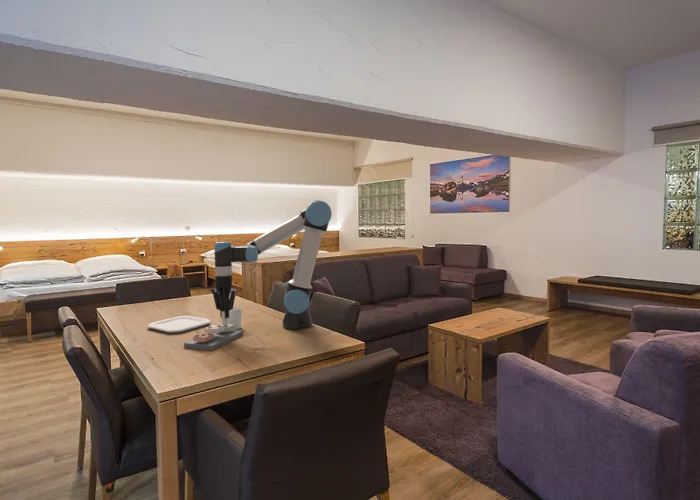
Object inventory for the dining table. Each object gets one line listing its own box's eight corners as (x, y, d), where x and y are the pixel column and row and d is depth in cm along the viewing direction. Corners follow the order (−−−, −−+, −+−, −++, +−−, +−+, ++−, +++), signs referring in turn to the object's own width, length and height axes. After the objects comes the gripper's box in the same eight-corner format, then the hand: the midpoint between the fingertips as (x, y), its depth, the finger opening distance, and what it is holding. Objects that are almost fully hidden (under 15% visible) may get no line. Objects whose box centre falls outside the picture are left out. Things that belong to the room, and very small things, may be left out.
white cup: (237, 330, 203) (237, 310, 203) (222, 329, 205) (222, 310, 204) (244, 326, 211) (244, 307, 210) (230, 325, 213) (230, 306, 212)
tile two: (224, 330, 188) (224, 325, 188) (216, 333, 183) (216, 328, 183) (213, 329, 190) (213, 324, 190) (204, 332, 185) (204, 327, 184)
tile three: (213, 338, 181) (213, 333, 181) (204, 342, 175) (204, 337, 175) (202, 337, 183) (202, 332, 183) (193, 341, 177) (192, 335, 177)
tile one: (234, 328, 196) (234, 323, 196) (227, 332, 190) (226, 327, 190) (223, 327, 198) (223, 322, 198) (216, 331, 192) (215, 326, 192)
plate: (173, 336, 195) (173, 331, 195) (142, 329, 208) (142, 324, 208) (215, 324, 216) (215, 320, 216) (185, 318, 229) (184, 314, 229)
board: (243, 334, 196) (243, 330, 196) (211, 350, 173) (211, 345, 173) (218, 332, 200) (217, 328, 200) (184, 347, 178) (183, 342, 178)
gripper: (240, 274, 194) (241, 323, 196) (216, 273, 198) (218, 321, 200) (231, 276, 187) (232, 327, 188) (206, 275, 190) (208, 325, 192)
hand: (225, 324), depth 194 cm, fingers closed
